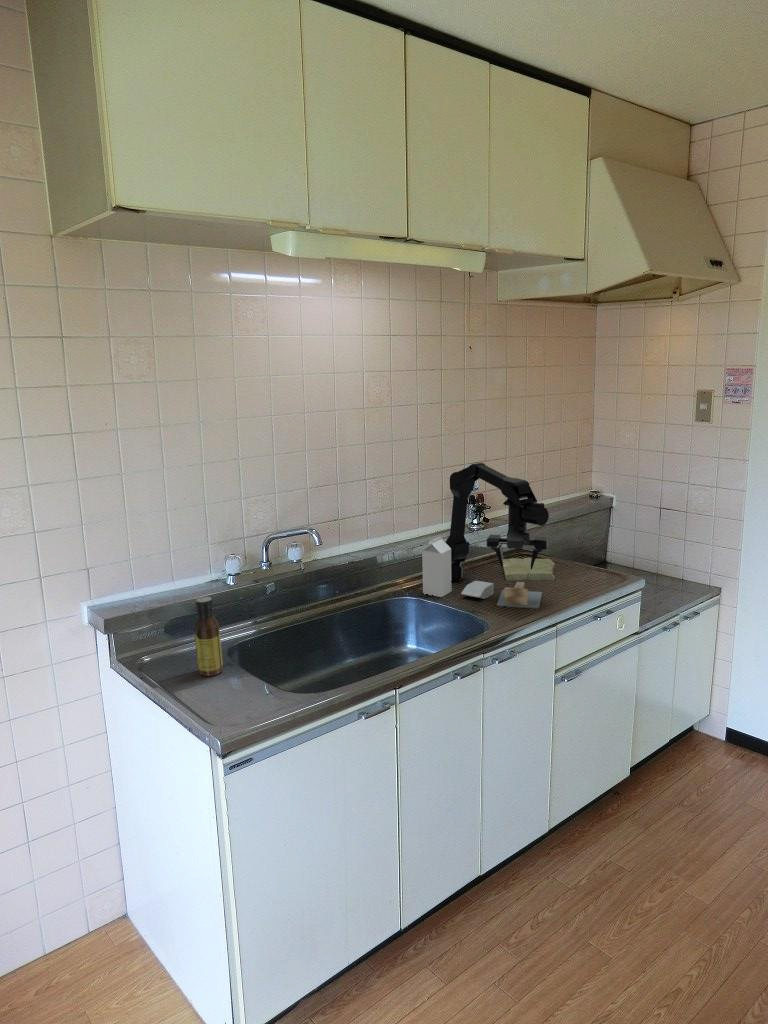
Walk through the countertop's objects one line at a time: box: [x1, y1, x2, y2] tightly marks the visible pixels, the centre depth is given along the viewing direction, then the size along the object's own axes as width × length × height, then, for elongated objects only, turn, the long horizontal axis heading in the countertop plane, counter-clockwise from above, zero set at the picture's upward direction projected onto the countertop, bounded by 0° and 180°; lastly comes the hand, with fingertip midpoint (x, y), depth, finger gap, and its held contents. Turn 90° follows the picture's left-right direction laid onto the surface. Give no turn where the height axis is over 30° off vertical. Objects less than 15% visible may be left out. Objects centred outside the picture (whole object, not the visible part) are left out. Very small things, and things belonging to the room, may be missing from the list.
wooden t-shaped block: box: [504, 581, 528, 605], centre depth 235 cm, size 7×11×5 cm, turn 161°
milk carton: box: [421, 535, 453, 598], centre depth 243 cm, size 7×7×19 cm
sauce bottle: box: [193, 596, 224, 677], centre depth 185 cm, size 7×6×20 cm
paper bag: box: [460, 580, 495, 600], centre depth 241 cm, size 4×7×10 cm
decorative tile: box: [502, 557, 556, 581], centre depth 266 cm, size 19×20×4 cm
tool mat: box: [496, 589, 543, 610], centre depth 236 cm, size 13×15×1 cm
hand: (516, 568), depth 233 cm, fingers open, 9 cm apart
